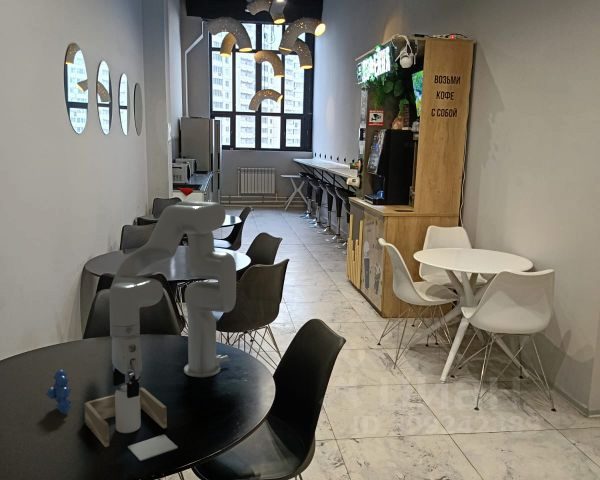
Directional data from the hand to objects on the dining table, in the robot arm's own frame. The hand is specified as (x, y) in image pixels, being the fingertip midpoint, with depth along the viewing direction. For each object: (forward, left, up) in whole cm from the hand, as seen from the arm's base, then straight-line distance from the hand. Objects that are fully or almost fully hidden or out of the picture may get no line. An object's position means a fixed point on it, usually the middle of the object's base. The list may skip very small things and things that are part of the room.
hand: (126, 390), depth 148 cm
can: (0, 0, -11) cm, 11 cm away
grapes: (+12, -22, -11) cm, 27 cm away
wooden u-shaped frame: (0, -2, -11) cm, 11 cm away
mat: (-1, +13, -11) cm, 17 cm away
